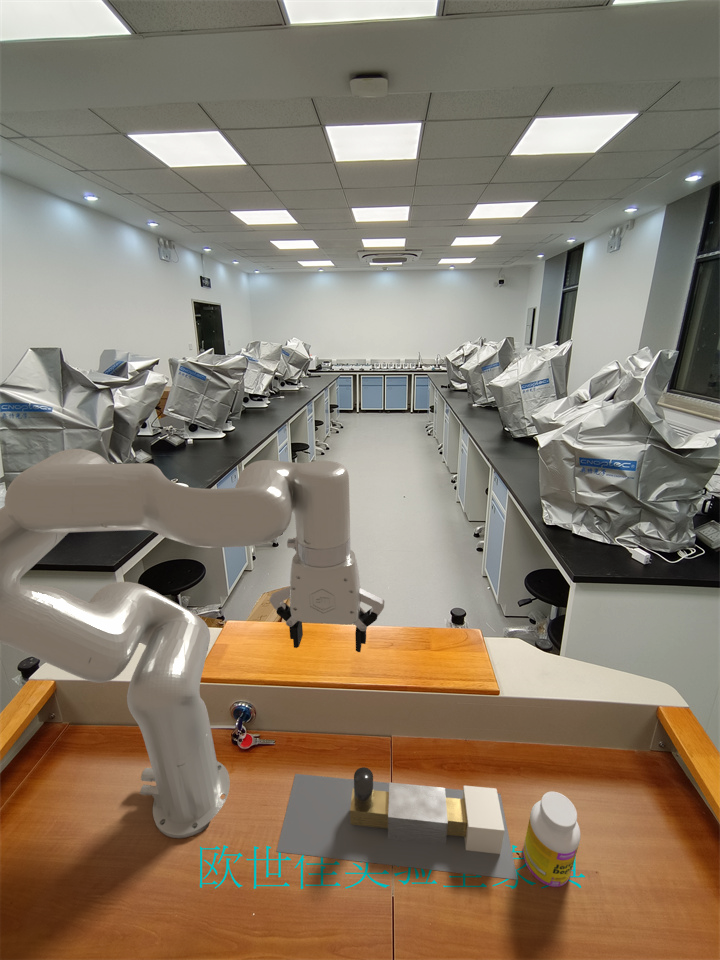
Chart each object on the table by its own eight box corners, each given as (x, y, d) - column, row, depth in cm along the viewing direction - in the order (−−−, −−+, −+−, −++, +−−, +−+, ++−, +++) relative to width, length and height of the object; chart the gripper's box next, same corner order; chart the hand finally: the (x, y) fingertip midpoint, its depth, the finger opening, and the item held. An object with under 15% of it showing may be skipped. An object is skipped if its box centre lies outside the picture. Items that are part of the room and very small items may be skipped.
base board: (277, 856, 66) (276, 851, 65) (295, 778, 77) (295, 773, 76) (516, 884, 62) (517, 879, 62) (499, 798, 73) (500, 793, 73)
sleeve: (387, 838, 67) (388, 817, 65) (389, 803, 71) (389, 782, 70) (445, 844, 66) (447, 823, 64) (443, 808, 71) (444, 787, 69)
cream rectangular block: (465, 850, 65) (468, 826, 63) (461, 808, 71) (463, 785, 69) (500, 853, 65) (504, 830, 63) (493, 811, 70) (496, 788, 68)
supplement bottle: (548, 902, 60) (562, 845, 56) (512, 853, 66) (523, 798, 61) (579, 875, 63) (595, 818, 58) (543, 830, 68) (555, 776, 64)
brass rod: (350, 824, 68) (349, 786, 65) (353, 801, 71) (352, 764, 68) (491, 839, 66) (497, 801, 62) (487, 815, 69) (492, 778, 66)
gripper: (256, 558, 58) (267, 657, 64) (383, 564, 56) (382, 665, 62) (272, 533, 65) (281, 624, 71) (386, 537, 63) (385, 630, 69)
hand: (328, 643), depth 66 cm, fingers open, 9 cm apart
